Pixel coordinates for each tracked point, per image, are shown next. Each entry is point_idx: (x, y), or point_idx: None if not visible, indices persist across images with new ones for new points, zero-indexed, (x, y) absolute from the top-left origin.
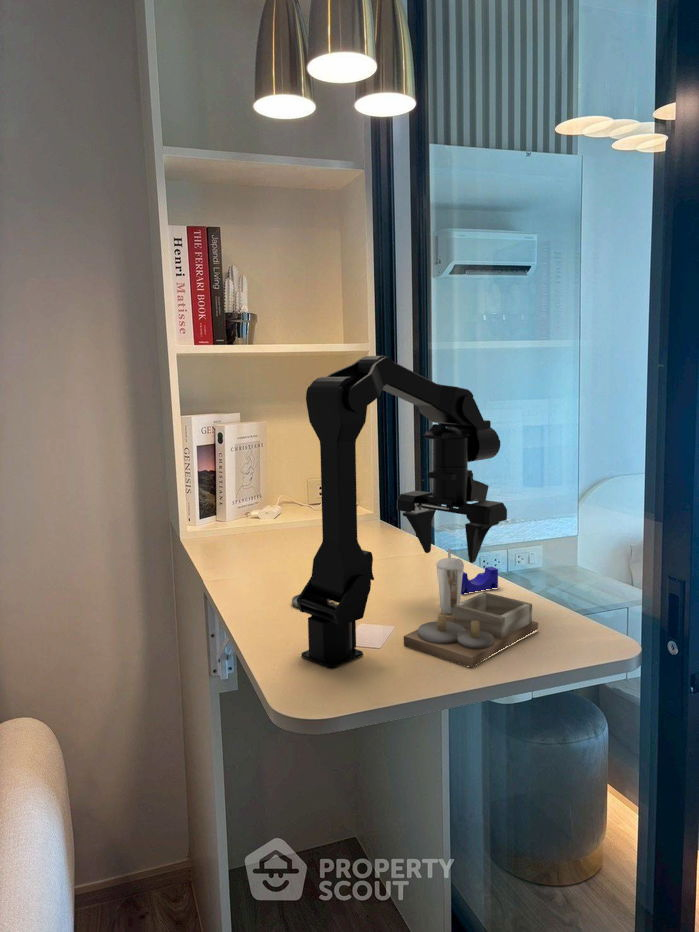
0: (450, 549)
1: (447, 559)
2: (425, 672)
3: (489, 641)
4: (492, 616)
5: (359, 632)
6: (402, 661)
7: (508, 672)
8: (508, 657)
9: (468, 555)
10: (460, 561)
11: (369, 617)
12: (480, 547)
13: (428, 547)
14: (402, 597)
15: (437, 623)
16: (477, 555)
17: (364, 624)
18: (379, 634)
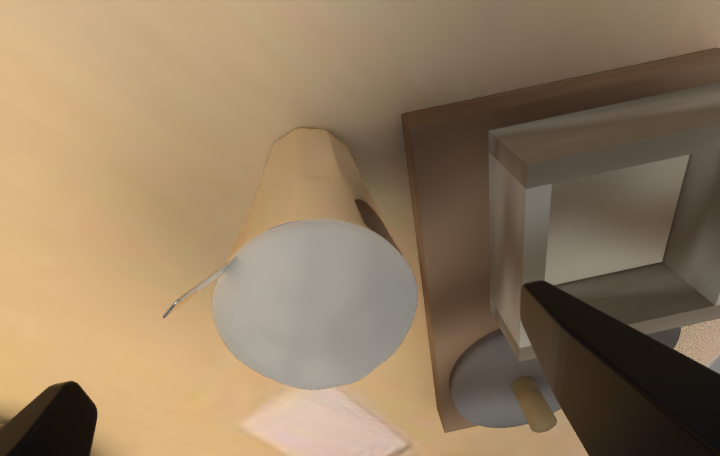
0: (180, 297)
1: (306, 351)
2: (563, 429)
3: (677, 339)
4: (689, 323)
5: (298, 444)
6: (494, 439)
7: (716, 322)
8: None
9: (550, 383)
10: (391, 294)
11: (207, 394)
12: (671, 352)
13: (68, 439)
14: (35, 220)
15: (482, 371)
16: (588, 306)
17: (253, 420)
18: (340, 419)
